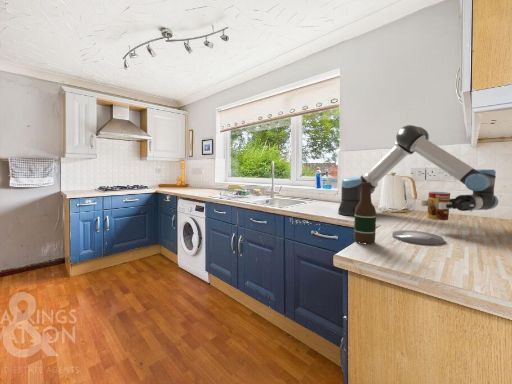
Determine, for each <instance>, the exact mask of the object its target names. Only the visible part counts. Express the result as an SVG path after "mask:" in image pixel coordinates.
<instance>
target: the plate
mask: <svg viewBox="0 0 512 384" xmlns="http://www.w3.org/2000/svg"><path fill="white" fill-rule="evenodd" d="M392 238H393V239H395V238H396V240H397V239H398V240H399V241H400V240H401V242H404V243H409V244H413V243H414V244H415V245H422V246H423V245H424V246H435V245H434V244H439V245H442V243H443V244H444V242H445V240H444V239H445V238H444V237H442V236H441V235H438V234H435V233H430V232H425V231H419V230H406V229H405V230H402V229H401V230H395V231H393V232H392Z"/></svg>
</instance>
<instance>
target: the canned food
mask: <svg viewBox="0 0 512 384" xmlns="http://www.w3.org/2000/svg"><path fill="white" fill-rule="evenodd" d="M450 199H451V192H446V191H429V192H428V198H427V200H428V206H427V210H426V218H427V219H428V220H433V221H448V220H449V217H450V216H449V213H450V209H439V203H447V202H450Z"/></svg>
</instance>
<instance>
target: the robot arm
mask: <svg viewBox="0 0 512 384" xmlns="http://www.w3.org/2000/svg"><path fill="white" fill-rule="evenodd" d="M395 137H396V138H395V139H396V140H395V145H394V146H393V147H392V148H391V149H390V150H389V151H388V152H387V153H386V154H385V155H384V156H383V157H382V158H381V159H380V160H379V161H378V162H377V163H376V164H375V165H374V166H373V167H371V169H370V170H369V171H368V172H367V173H365V172H364V173H362V175H361V176H360V177H359V176H358V177H357V176H354V177H353V176H351V177H344V178H343V179H342V180H341V183H340V185H341V193H340V194H341V198H340V205H339V206H338V210H337V213H339V214H338V215H341V214H342V215H341V216H346V215H349V217H355V209H356V207H357V205H358V204H359V202H360V199H361V189H362V185H361V183H362V182H370V183H371V195H372V194H373V193H374V192H375V191H376V188H377V187H378V186H379V181H381V180H382V179H383V178H384V177H385V176H386V175H388V173H389V172H390V171H392V170H393V169H394V168H395V167H396V166H397V165H398V164H399V163H401V161H402V160H403V159H404V158H405V157H407V155H409V156H410V155H413V154H414V153H417V154H418V155H420V156H421V157H423V158H424V159H426V160H427V161H428V162H430V163H431V164H433V165H435V166H437V168H440V169H441V170H442V171H444V172H445V173H446V174H448V175H450V176H451V177H453V178H454V179H456V180H458V181H459V182H460V183H461V184H463V185H465V187H466V188H467V189H468V190H470V191H472V194H460V195H457V196H455V198H450V202H447V203H439V209H449V210H451V209H453V210H456V209H457V210H458V211H460V212H461V211H462V212H468V211H469V212H473V211H482V210H483V211H487V210H491V209H494V208H496V207H497V206H498V204H499V199H498V197H497V196H496V195H495V183H496V178H497V176H496V174H497V173H496V171H497V170H495V169H476V168H474V167H472V166H471V165H469V164H467V163H466V162H464V161H462V160H461V159H459V158H457V157H456V156H454V155H452V154H451V153H450V152H448V151H446V150H445V149H443V148H441V147H440V146H438V145H436V143H435V144H434V143H433V142H432V141H430V140H429V139H430V135H429V132H428V131H427V130H426V129H425V128H423V127H422V126H416V125H412V124H407V125H404V126H403V127H401V128H400V129H399V130H398V131H397V133H396V136H395ZM420 207H428V199H422V200H420Z"/></svg>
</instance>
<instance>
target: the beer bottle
mask: <svg viewBox="0 0 512 384" xmlns="http://www.w3.org/2000/svg"><path fill="white" fill-rule="evenodd" d="M361 185H362V189H361V199H360V202H359V204H358V205H357V207H356V209H355V216H354V221H353V222H354V226H353V227H354V228H353V240H354V242H355V243H356V242H360V243H366V244H371V245H373V244H372V243H374V244H375V243H376V225H377V223H376V222H377V211H376V207H375V206H374V204H373V203H372V194H371V183H370V182H362V183H361Z"/></svg>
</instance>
